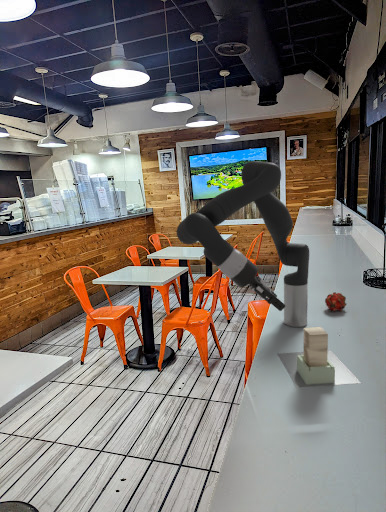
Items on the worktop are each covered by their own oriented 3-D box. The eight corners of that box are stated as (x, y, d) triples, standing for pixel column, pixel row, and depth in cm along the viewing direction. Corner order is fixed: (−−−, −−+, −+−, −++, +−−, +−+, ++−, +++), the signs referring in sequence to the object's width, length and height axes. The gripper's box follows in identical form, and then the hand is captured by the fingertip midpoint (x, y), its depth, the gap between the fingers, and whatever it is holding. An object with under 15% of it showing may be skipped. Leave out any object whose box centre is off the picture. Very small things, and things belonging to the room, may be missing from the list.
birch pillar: (303, 359, 101) (303, 327, 99) (320, 358, 101) (320, 326, 99) (309, 368, 96) (309, 335, 94) (327, 367, 96) (327, 333, 94)
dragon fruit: (340, 309, 158) (333, 321, 149) (325, 297, 161) (317, 308, 152) (352, 297, 153) (345, 308, 144) (336, 285, 156) (328, 295, 147)
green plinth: (296, 369, 103) (296, 355, 102) (323, 368, 103) (323, 353, 102) (306, 384, 95) (306, 368, 94) (334, 382, 95) (335, 366, 94)
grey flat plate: (277, 356, 114) (277, 353, 114) (330, 352, 114) (330, 350, 114) (296, 390, 94) (296, 387, 94) (361, 386, 94) (361, 383, 94)
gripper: (251, 263, 87) (295, 302, 90) (241, 252, 101) (280, 286, 104) (231, 284, 88) (276, 322, 91) (225, 270, 102) (264, 304, 105)
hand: (278, 303), depth 97 cm, fingers open, 8 cm apart
